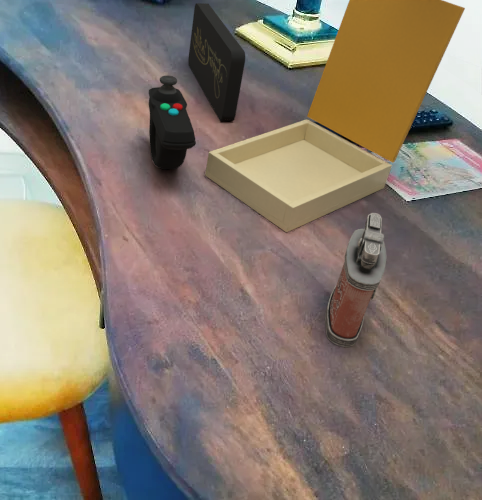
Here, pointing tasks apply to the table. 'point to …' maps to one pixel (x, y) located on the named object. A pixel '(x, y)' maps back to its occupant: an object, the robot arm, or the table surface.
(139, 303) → the table surface
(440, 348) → the table surface
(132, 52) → the table surface
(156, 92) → the controller
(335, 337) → the lighter
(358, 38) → the cover
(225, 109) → the nameplate
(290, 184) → the square lidded box
